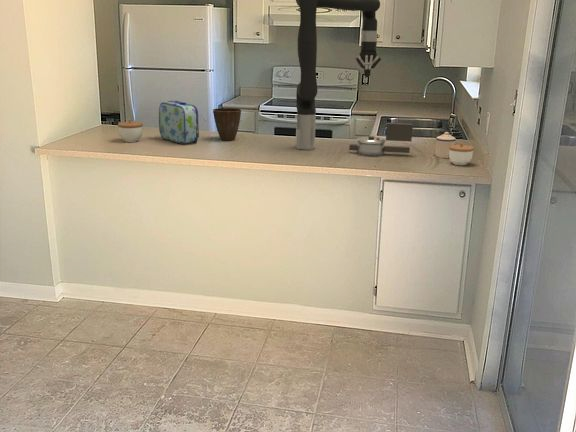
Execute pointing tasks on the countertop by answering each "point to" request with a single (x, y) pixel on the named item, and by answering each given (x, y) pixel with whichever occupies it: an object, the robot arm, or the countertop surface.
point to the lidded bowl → (130, 131)
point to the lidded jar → (460, 154)
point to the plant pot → (227, 122)
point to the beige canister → (444, 145)
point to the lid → (391, 134)
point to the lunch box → (178, 122)
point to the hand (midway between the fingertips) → (367, 77)
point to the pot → (376, 149)
